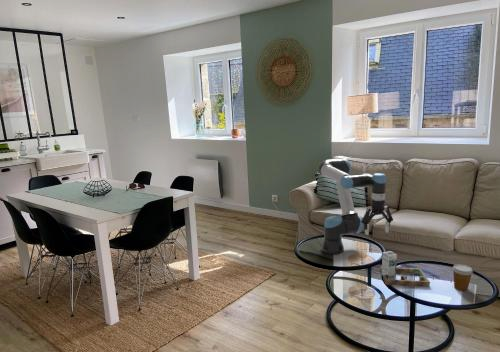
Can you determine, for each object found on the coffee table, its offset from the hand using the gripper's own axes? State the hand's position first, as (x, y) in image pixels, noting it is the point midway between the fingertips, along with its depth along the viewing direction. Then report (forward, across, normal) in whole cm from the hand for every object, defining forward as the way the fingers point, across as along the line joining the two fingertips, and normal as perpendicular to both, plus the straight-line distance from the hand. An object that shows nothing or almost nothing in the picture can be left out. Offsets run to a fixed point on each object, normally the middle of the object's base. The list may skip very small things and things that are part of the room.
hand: (376, 233), depth 224 cm
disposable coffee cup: (+22, +28, -37) cm, 52 cm away
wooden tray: (+21, +6, -20) cm, 30 cm away
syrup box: (+22, 0, -14) cm, 26 cm away
